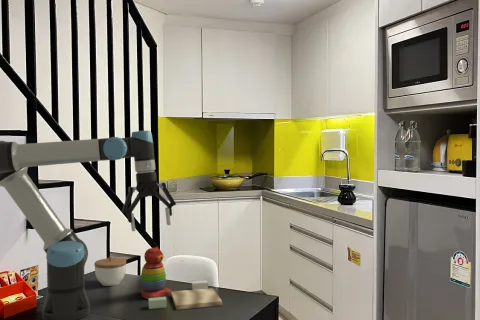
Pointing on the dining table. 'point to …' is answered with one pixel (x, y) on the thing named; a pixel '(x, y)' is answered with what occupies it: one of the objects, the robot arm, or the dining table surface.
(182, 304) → the birch board
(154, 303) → the sage brick
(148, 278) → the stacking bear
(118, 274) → the lidded bowl
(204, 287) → the grey brick
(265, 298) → the dining table surface
